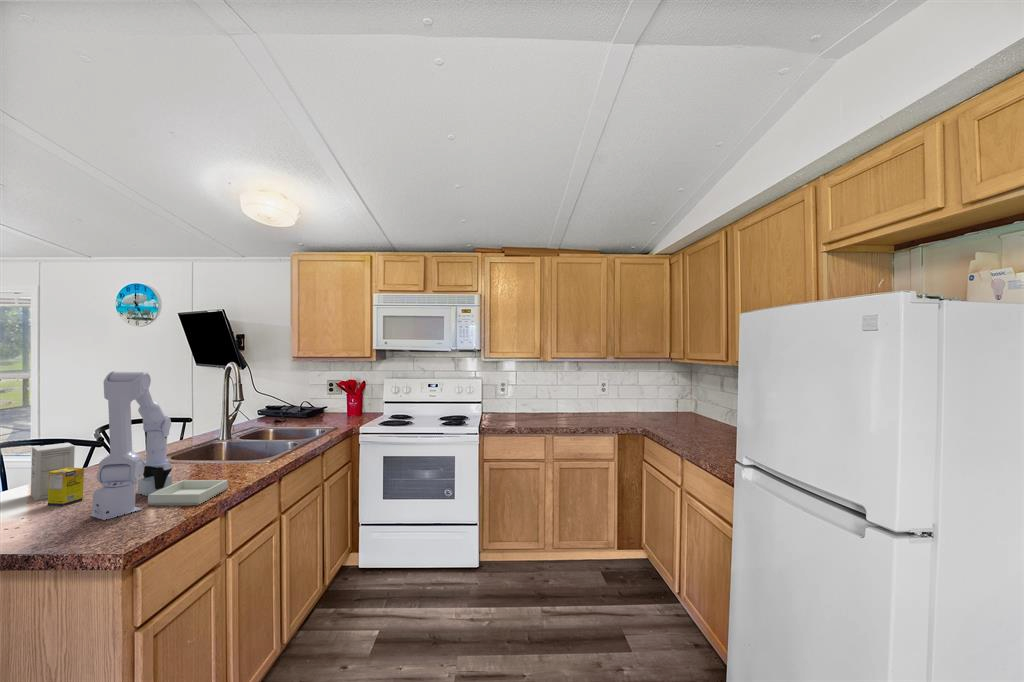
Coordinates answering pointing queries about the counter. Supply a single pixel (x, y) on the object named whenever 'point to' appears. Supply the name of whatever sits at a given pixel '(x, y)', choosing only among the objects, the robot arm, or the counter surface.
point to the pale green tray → (188, 492)
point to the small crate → (151, 485)
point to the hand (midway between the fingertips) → (155, 487)
